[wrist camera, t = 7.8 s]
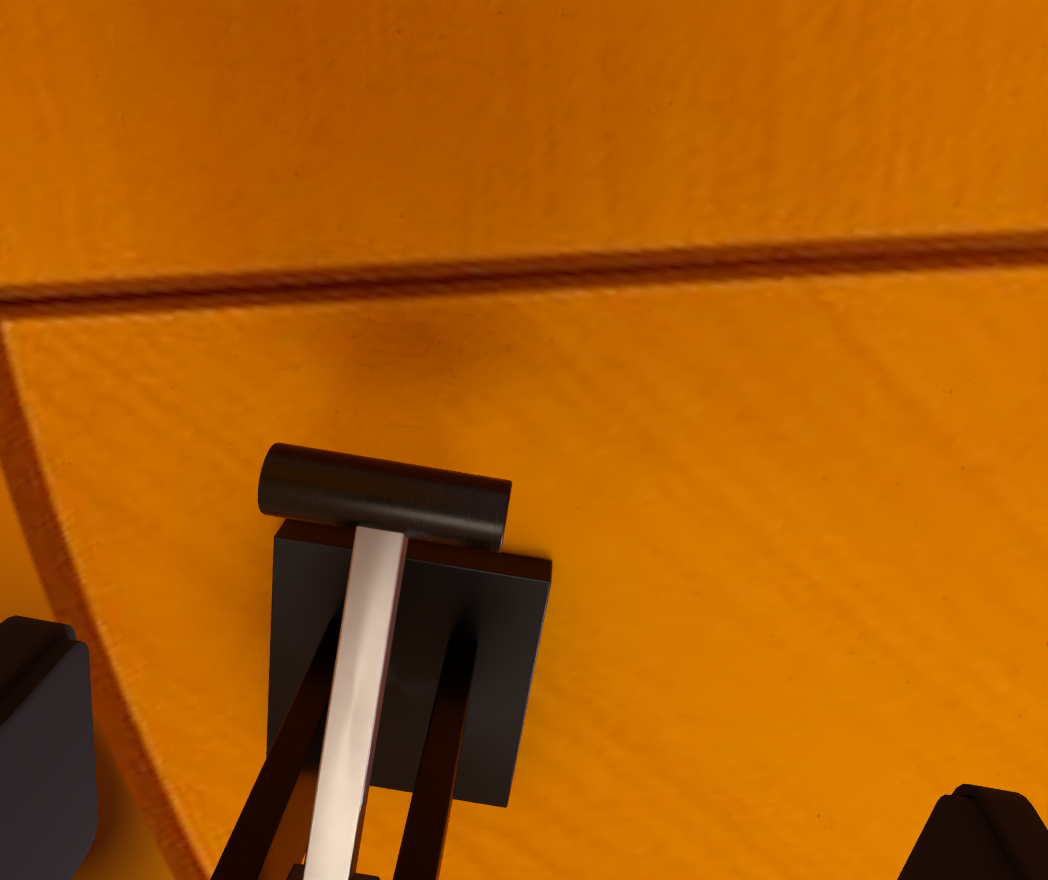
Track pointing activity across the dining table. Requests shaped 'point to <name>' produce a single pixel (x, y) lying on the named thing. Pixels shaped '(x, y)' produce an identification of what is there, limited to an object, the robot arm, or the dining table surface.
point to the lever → (369, 605)
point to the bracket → (394, 692)
